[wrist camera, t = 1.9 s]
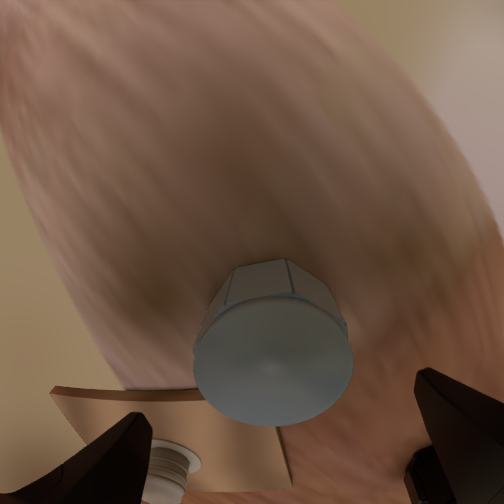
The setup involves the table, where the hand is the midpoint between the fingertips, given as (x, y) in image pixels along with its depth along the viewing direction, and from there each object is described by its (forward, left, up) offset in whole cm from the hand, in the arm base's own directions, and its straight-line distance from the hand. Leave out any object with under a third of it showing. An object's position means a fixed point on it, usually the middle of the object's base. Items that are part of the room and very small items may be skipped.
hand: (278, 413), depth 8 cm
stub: (+9, +10, -6) cm, 15 cm away
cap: (0, 0, -6) cm, 6 cm away
